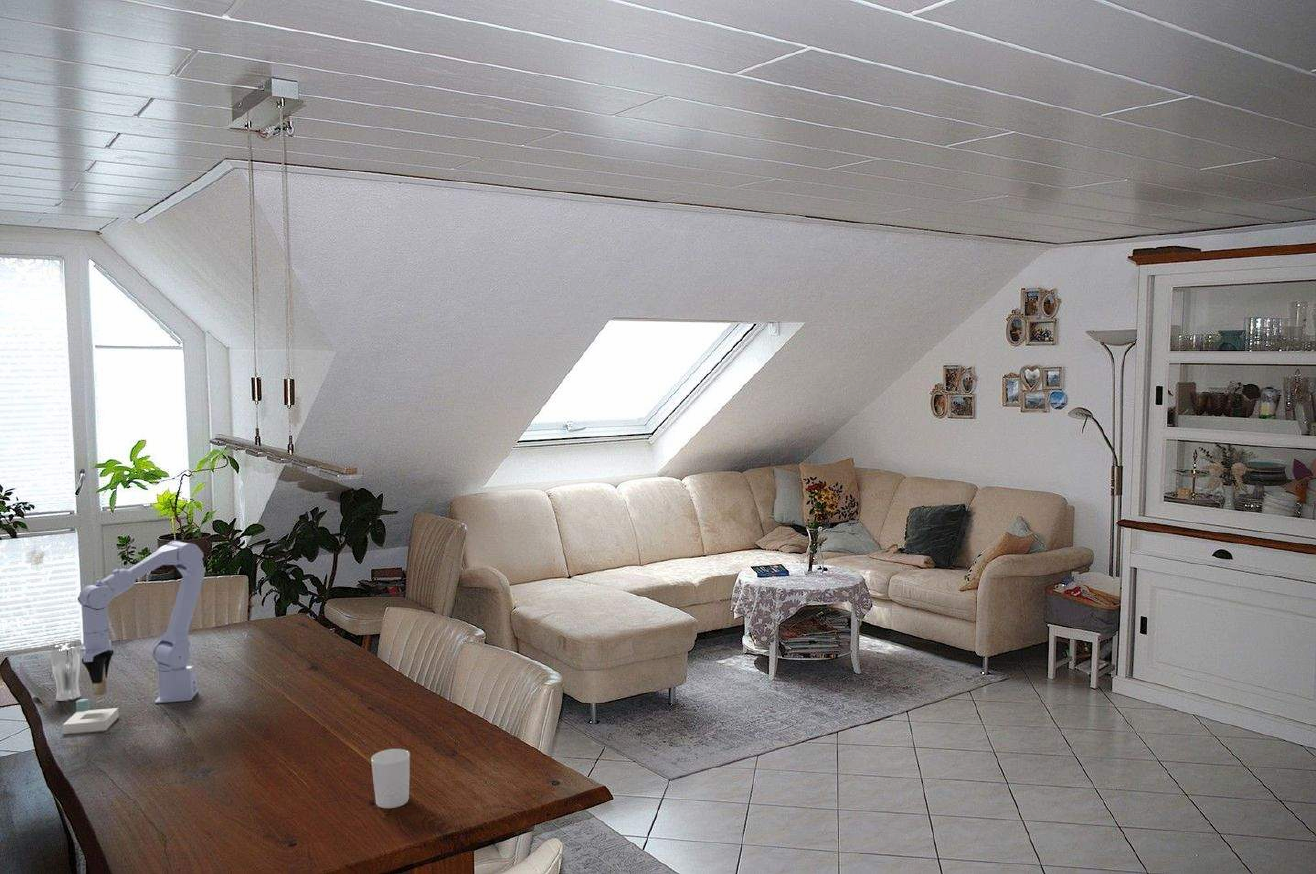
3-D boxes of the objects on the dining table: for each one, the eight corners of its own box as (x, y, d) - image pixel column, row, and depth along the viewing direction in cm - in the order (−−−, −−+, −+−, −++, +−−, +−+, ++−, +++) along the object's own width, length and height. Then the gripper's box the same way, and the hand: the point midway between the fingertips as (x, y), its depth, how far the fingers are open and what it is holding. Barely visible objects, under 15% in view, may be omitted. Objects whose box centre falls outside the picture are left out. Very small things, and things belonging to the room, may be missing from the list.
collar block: (118, 717, 266) (118, 707, 266) (105, 730, 256) (105, 721, 256) (78, 720, 264) (77, 711, 264) (63, 734, 254) (62, 724, 254)
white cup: (377, 794, 215) (375, 749, 214) (414, 792, 215) (412, 747, 214) (369, 811, 207) (367, 764, 206) (408, 809, 207) (406, 762, 207)
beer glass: (69, 703, 278) (65, 650, 277) (48, 701, 280) (44, 649, 279) (88, 694, 285) (84, 643, 284) (67, 693, 287) (63, 642, 285)
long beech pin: (108, 691, 266) (106, 662, 266) (104, 694, 263) (102, 665, 263) (95, 692, 266) (94, 662, 265) (91, 695, 263) (90, 666, 262)
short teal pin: (91, 714, 269) (90, 698, 268) (87, 718, 266) (86, 702, 265) (79, 715, 268) (78, 699, 268) (75, 719, 265) (74, 703, 265)
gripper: (90, 624, 270) (93, 673, 271) (69, 639, 255) (72, 690, 256) (118, 623, 271) (121, 671, 272) (99, 637, 257) (102, 688, 258)
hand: (99, 681), depth 264 cm, fingers closed on long beech pin, 3 cm apart
